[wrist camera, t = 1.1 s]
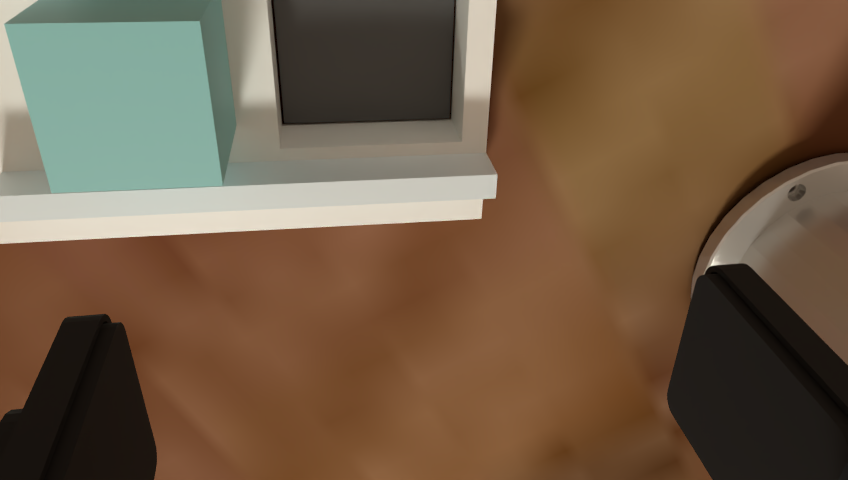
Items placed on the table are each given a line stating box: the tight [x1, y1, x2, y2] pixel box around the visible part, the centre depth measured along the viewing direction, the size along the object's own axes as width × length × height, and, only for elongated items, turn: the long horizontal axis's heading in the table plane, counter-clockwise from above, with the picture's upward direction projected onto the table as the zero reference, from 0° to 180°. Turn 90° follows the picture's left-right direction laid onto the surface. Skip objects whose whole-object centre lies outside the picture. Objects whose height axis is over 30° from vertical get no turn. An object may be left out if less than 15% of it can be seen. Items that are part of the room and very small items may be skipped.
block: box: [4, 0, 237, 193], centre depth 22 cm, size 5×5×5 cm
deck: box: [0, 0, 497, 244], centre depth 24 cm, size 28×14×4 cm, turn 88°
